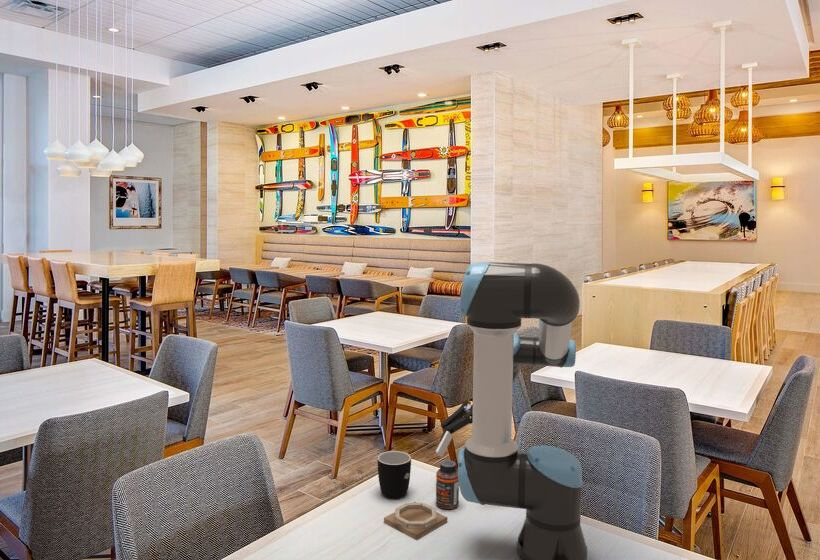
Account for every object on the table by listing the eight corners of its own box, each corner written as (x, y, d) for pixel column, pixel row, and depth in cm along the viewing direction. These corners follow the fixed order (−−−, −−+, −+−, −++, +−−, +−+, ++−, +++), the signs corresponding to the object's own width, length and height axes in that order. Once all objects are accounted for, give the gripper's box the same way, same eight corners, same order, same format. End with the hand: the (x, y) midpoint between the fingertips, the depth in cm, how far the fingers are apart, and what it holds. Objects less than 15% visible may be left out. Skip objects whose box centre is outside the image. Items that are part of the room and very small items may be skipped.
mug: (407, 503, 152) (407, 466, 151) (373, 499, 154) (373, 462, 153) (415, 482, 164) (415, 447, 163) (384, 479, 165) (384, 445, 164)
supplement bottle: (432, 507, 150) (432, 465, 148) (440, 497, 155) (440, 456, 154) (454, 512, 147) (455, 469, 146) (461, 501, 153) (462, 460, 152)
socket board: (447, 521, 143) (447, 512, 143) (416, 539, 135) (416, 530, 135) (414, 506, 150) (414, 497, 150) (383, 522, 142) (383, 513, 142)
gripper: (536, 411, 157) (502, 483, 148) (463, 391, 174) (429, 454, 165) (525, 397, 153) (490, 469, 144) (452, 378, 170) (417, 442, 161)
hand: (458, 461), depth 154 cm, fingers open, 13 cm apart
